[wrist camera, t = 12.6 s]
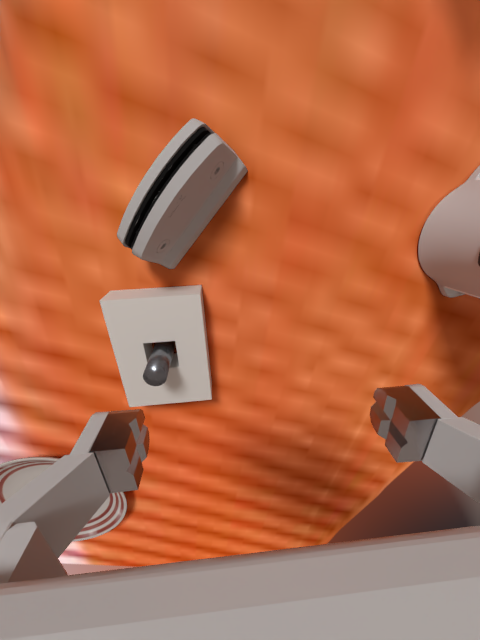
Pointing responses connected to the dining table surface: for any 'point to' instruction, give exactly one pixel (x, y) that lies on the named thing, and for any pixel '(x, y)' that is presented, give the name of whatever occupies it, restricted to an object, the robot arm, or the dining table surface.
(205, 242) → the dining table surface
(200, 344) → the grey block with hole
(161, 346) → the pin
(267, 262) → the dining table surface
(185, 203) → the grey curved slotted block
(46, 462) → the dinner plate
